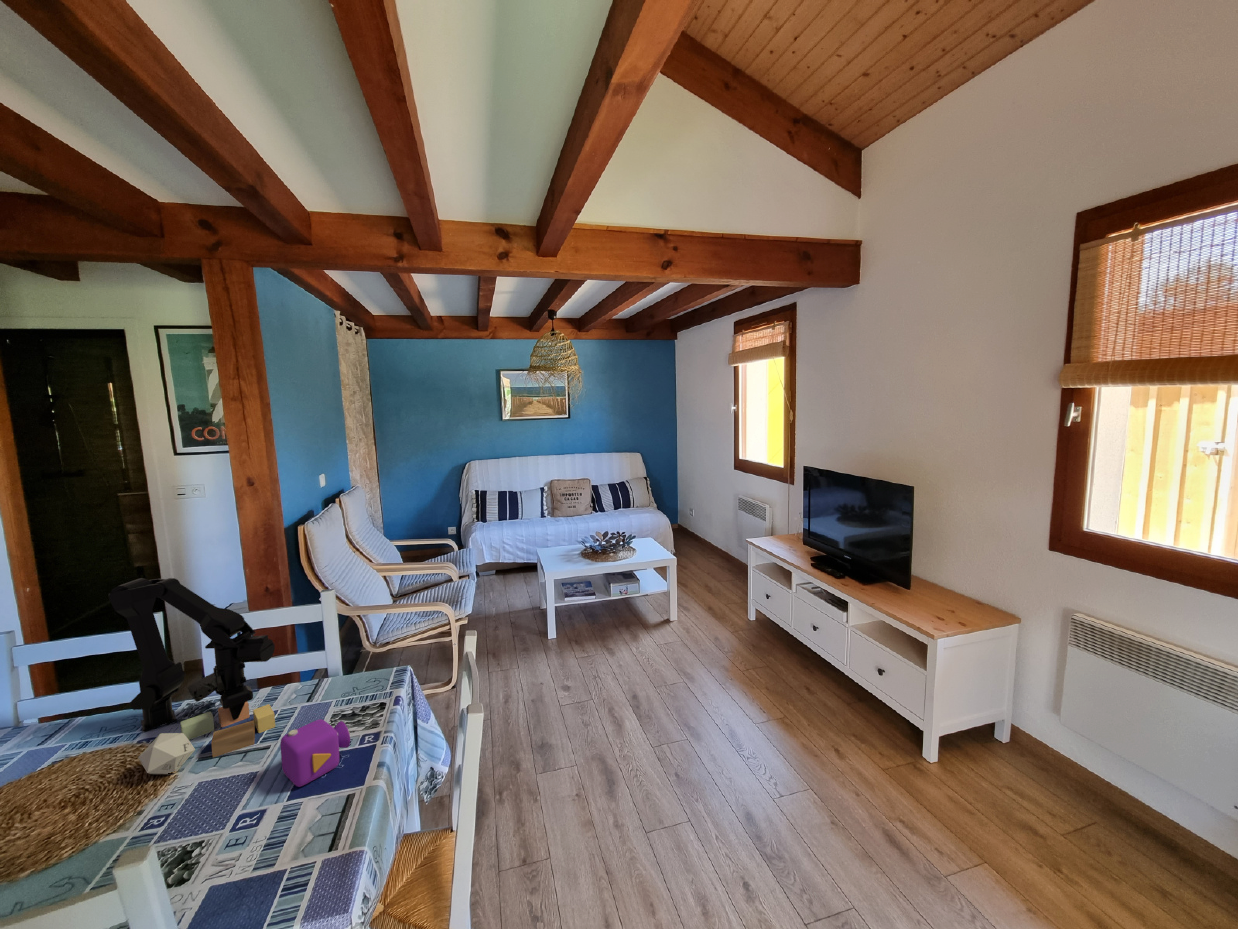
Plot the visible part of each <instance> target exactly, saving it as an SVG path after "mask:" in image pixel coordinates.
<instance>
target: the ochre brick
mask: <svg viewBox="0 0 1238 929" xmlns="http://www.w3.org/2000/svg"><path fill="white" fill-rule="evenodd" d="M252 714H253V720H254V727H255V728H256V730H257V733H258V734H261V733H263V732H266V731H268V730H271V729H273V728H276V716H275V715H276V714H275V711H274V710H273V708H272V706H271V705H270V703H268V704H266V705H263V706H260V707H258V708H257V707H256V708H255V709H252Z"/></svg>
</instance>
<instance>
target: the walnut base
mask: <svg viewBox="0 0 1238 929" xmlns="http://www.w3.org/2000/svg"><path fill="white" fill-rule="evenodd" d="M255 728H256V727H255V724H254V719H253V720H250V721H247V722H244V723H240V724H236V725H233V726H230V727H226V728H225V727H224V728H221V729H219V730H216V731H215V730H214V731H213V732H212V733H213V734H212V739H211V741H210V742H211V752H212V753H211V754H212V758H215V757H219V756H222V755H225V754H228V753H233V752H234V751H238V750H242V749H244V748H248V747H250V746H253V745H255V740H256V730H255Z"/></svg>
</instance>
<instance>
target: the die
mask: <svg viewBox="0 0 1238 929" xmlns="http://www.w3.org/2000/svg"><path fill="white" fill-rule="evenodd" d="M195 751H196V749H195V747H194V746H193V744H192V742H191V740H188V738H187V737H186V735H185V734H183V733H181V732H177V733H176V732H175V733H174V732H170V733H169V732H168V733H166V732H164V733H163V732H162V733H159V735H157V736H156V738H155V739H154V740H153V741H152V742H151V743H150V744H149V745H148V746H147V747H146V749H145V750H144V751H143V752H142V753H141V754H139V756H138V759H139V762H140V763H141V765H142V767H143V768H144V769H145V771H146V773H147V774H149V775H169V774H168V773H171V772H174V771H177V772H178V770H180V768H181V767H182V766H183V765H184V764H185V762H186V761H187V760H188V759H189V757H190V756H191V755H192V754H193V753H194V752H195Z"/></svg>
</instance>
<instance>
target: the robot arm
mask: <svg viewBox="0 0 1238 929" xmlns="http://www.w3.org/2000/svg"><path fill="white" fill-rule="evenodd" d="M158 598H159V599H161V600H163V601H164V602H165V603H166V604H169V605H170V606H172V607H173V608H175V609H176V610H178V611H179V612H181V613H182V614H184V615H186V616H187V617H188V618H190V619H192V620H194V621H195V622H196V623H197V624H198V625H199V626H200V630H201V633H203V634H204V635H205V636H206V637H207V638H208V639H209V640H210V642H208V644H206V645H205V646H204V647H205V649H206V650H207V649H214V650H213V651H214V658H215V660H214V662H215V666H214V667H213V672H212V673H210V674H208V675H206V676H204V677H202V678H201V679H198V680H197V681H195V682H194V683H192V684H190V685H189V686H188V688H187V690H188V692H189V695H190V696H191V697H192V698H193V700H194V701H195V702H196V703H197V702H200V701H202V700H204V699H205V698H207V697H208V696H210V695H211V694H213V693H214V692H215V693H216V695H219V696H220V700H219V703H220V704H221V707H223V709H227V708H229V710H230V713H231V716H232V718H233V720H235V719H238V718H239V715H240V713H241V711H242V709H243V706H244V704H245V702H249V701H252V700H253V699H254V692H253V690H252V688H251V686H249V685H246V684H245V683H247V677H246V676H245V668H246V663H266V662H268V661H270V659H271V658H272V657H273V655H274V652H275V646H276V645H275V643H274V642H273V640H272V639H270V638H269V635H268V634H262V635H256V631H255V630H254V629H253V627H252V626H251V625H250V624H248V622H247V621H246V620H245V617H244V616H243V615H242V614H241V613H238V612H237V611H234V610H232V609H229V608H222V607H218V606H215V605H214V604H212V603H210V602H209V601H207V600H206V599H204V598H203V597H201V596H200V595H199V594H197V593H195V592H193V591H192V590H191V589H189V588H188V587H186V586H185V585H183V584H182V583H181V581H179V580H178V579H177V578H173V577H170V578H155V579H148V578H144V577H141V578H137V579H134V580H131V581H128V582H126V583H122V584H120V585H116V586H114V587H113V588H112V589H111V590H110V592H109V593H108V600H109V603H110V604H111V606H112V608H113V610H114V612H116V613H118V614H120V616H123V617H124V618H125V619H126V621H127V624H128V627H129V630H130V633H131V636H132V639H133V642H134V645H135V648H136V650H137V654H138V657H139V659H140V664H141V666H142V670H141V671H142V672H141V675H140V679H139V681H138V685H139V693H138V694H137V695H136V696H135V697H134V698H132V699H131V701H130V702H129V705H130V707H131V708H132V710H133V711H135V710H137V711H138V710H141V711H142V720H141V721H140V723H141V724H140V725H141V730H142V731H141V732H143V733H145V732H147V731H150V730H153V729H157V728H159V727H162V726H164V725H168V724H171V723H173V722H176V721H177V718H176V714H175V709H174V710H173V703H172V696H173V695H174V694H175V693H178V692H179V691H180V688H181V686H182V684H183V682H184V681H185V676H186V675H187V674H186V673H185V671H184V669H183V664H182V662H180V661H179V662H174V661H172V660H170V659H169V657H168V655H167V654H168V653H167V651H166V648H165V644H164V641H163V639H162V636H161V632H160V629H159V627H158V622H157V620H156V617H155V615H154V612H153V611H154V610H153V609H154V606H155V603H156V599H158ZM238 633H240V634H238ZM237 634H238V635H237ZM234 636H235V637H234Z"/></svg>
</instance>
